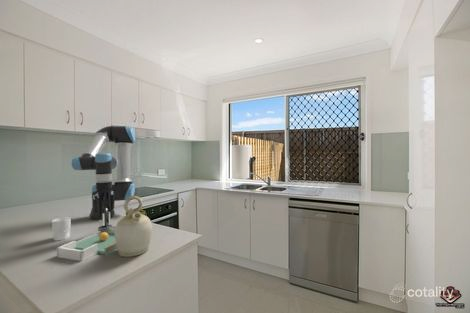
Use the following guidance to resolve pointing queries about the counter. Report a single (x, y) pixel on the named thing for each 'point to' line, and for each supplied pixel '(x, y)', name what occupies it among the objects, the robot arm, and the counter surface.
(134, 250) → the jug
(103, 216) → the robot arm
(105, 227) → the black lever handle
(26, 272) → the counter surface
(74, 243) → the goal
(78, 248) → the pitch
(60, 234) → the white cup
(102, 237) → the ball
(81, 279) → the counter surface
